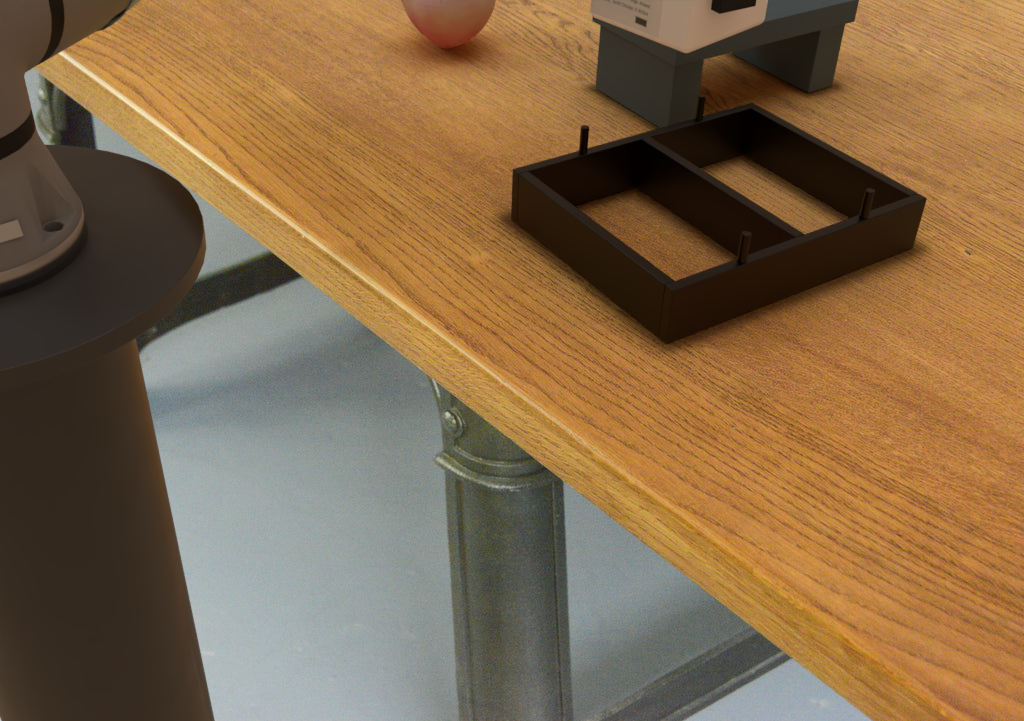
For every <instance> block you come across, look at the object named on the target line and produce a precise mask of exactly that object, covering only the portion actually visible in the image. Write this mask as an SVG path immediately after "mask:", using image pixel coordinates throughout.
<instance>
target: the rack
mask: <svg viewBox="0 0 1024 721" xmlns="http://www.w3.org/2000/svg"><path fill="white" fill-rule="evenodd" d="M706 98H707V96H706V94H705V93H699V94H698V98H697V105H696V112H695V118H694V119H690V120H687V121H683V122H680V123H676V124H672V125H669V126H665V127H662V128H659V127H657V128H655V129H651V130H648V131H643V132H640V133H637V134H633V135H630V136H626V137H622V138H619V139H616V140H615V139H614V140H612V141H608V142H605V143H601V144H598V145H594V146H590V147H589V136H590V126H589V125H588V124H582V125H580V133H579V147H578V150H576V151H573V152H569V153H566V154H562V155H559V156H555V157H551V158H548V159H544V160H540V161H537V162H534V163H533V162H532V163H530V164H526V165H523V166H522V165H521V166H520V167H516V168H513V169H512V177H511V178H512V181H511V205H510V206H511V208H510V219H511V221H513V222H514V223H515V224H517V225H518V226H520V227H521V229H523V230H524V231H525V232H527V233H528V234H529V235H531V236H532V237H533V238H534V239H536V240H537V241H538V242H539V243H541V244H542V245H543V247H545V248H546V249H548V250H549V251H550V252H552V253H553V254H554V255H555V256H557V257H558V258H559V259H560V260H562V261H563V262H564V263H565V264H567V265H568V266H569V267H570V268H571V269H572V270H574V271H575V272H577V273H578V274H579V275H580V276H581V277H582V278H584V279H585V280H586V281H587V282H589V283H590V284H591V285H592V286H594V287H595V288H596V289H598V291H599V292H601V293H602V294H603V295H605V296H606V297H607V298H608V299H610V300H611V301H612V302H613V303H614V304H616V305H617V306H619V307H620V308H621V309H622V310H623V311H625V312H626V313H627V314H628V315H630V316H631V317H632V318H633V319H635V320H636V321H637V322H638V323H639V324H641V325H642V326H643V327H644V328H646V329H647V330H648V331H650V332H651V333H652V334H653V335H655V336H656V337H657V338H658V339H660V340H661V341H662V342H663V343H664V344H666V345H667V344H669V343H672V342H674V341H678V340H680V339H683V338H685V337H688V336H690V335H692V334H695V333H698V332H700V331H703V330H705V329H708V328H711V327H713V326H716V325H718V324H721V323H723V322H726V321H728V320H731V319H734V318H736V317H739V316H742V315H744V314H746V313H749V312H753V311H754V310H757V309H759V308H762V307H764V306H767V305H770V304H772V303H775V302H777V301H780V300H783V299H785V298H788V297H790V296H793V295H795V294H798V293H801V292H803V291H805V290H808V289H811V288H813V287H816V286H818V285H821V284H823V283H826V282H828V281H829V282H830V281H831V280H834V279H836V278H840V277H841V276H844V275H847V274H849V273H851V272H855V271H857V270H859V269H862V268H864V267H868V266H870V265H873V264H875V263H878V262H880V261H883V260H886V259H888V258H890V257H893V256H896V255H897V254H901V253H902V252H906V251H908V250H910V249H911V250H912V249H914V246H915V244H916V243H915V242H916V240H917V236H918V232H919V228H920V224H921V222H922V217H923V214H924V211H925V206H926V203H927V200H928V198H927V197H925V196H924V195H922V194H920V193H918V191H915V190H913V189H911V188H909V187H907V186H906V185H904V184H903V183H900V182H898V181H897V180H895V179H893V178H891V177H889V176H888V175H885V174H884V173H882V172H880V171H878V170H876V169H874V168H873V167H871V166H869V165H867V164H866V163H864V162H862V161H860V160H858V159H856V158H855V157H853V156H851V155H849V154H847V153H845V152H844V151H841V150H840V149H838V148H836V147H834V146H832V145H831V144H830V143H827V142H825V141H823V140H822V139H821V138H819V137H817V136H814V135H812V134H811V133H808V132H807V131H805V130H803V129H801V128H800V127H798V126H796V125H795V124H792V123H790V122H789V121H787V120H785V119H783V118H781V117H779V116H777V115H776V114H774V113H772V112H770V111H769V110H767V109H765V108H763V107H761V106H759V105H757V104H756V103H754V102H748V103H744V104H741V105H738V106H734V107H730V108H726V109H723V110H719V111H716V112H712V113H709V114H704V112H705V106H706V100H707V99H706ZM742 155H743V156H746V157H748V158H749V159H751V160H752V161H754V162H755V163H757V164H759V165H761V166H763V167H764V168H766V169H768V170H769V171H770V172H773V173H774V174H776V175H778V176H779V177H781V178H783V179H785V180H786V181H787V182H789V183H791V184H792V185H795V186H796V187H798V188H799V189H801V190H803V191H804V192H806V193H808V194H810V195H811V196H813V197H815V198H817V199H818V200H820V201H822V202H823V203H825V204H826V205H828V206H830V207H832V208H833V209H835V210H837V211H838V212H840V213H842V214H843V215H845V216H847V217H849V218H847V219H844V220H840V221H838V222H835V223H832V224H830V225H827V226H823V227H821V228H819V229H815V230H813V231H811V232H808V233H804V232H803V231H800V230H799V229H798V228H795V227H794V226H793V225H791V224H789V223H788V222H787V221H785V220H783V219H781V217H778V216H777V215H775V214H773V213H772V212H770V211H769V210H767V209H765V208H764V207H762V206H761V205H759V204H758V203H756V202H754V201H753V200H752V199H750V198H748V197H747V196H745V195H743V194H741V193H740V192H739V191H737V190H736V189H735V188H732V187H730V186H729V185H728V184H726V183H724V182H723V181H721V180H719V179H718V178H716V177H715V176H713V175H712V174H710V173H708V172H707V171H705V170H704V169H702V167H707V166H709V165H713V164H716V163H719V162H722V161H725V160H726V161H727V160H728V159H732V158H736V157H739V156H742ZM634 188H637V189H639V190H640V191H642V192H643V193H645V194H646V195H647V196H649V197H650V198H652V199H653V200H655V201H656V202H658V203H659V204H661V206H663V207H665V208H666V209H668V210H670V211H671V212H672V213H674V214H675V215H676V216H678V217H679V218H681V219H683V220H684V221H686V222H687V223H688V224H690V225H692V226H693V227H695V228H696V229H697V230H698V231H700V232H702V233H703V234H704V235H706V236H707V237H708V238H710V239H711V240H713V241H715V242H716V243H718V244H719V245H721V246H722V247H724V248H725V249H727V250H728V251H729V252H731V253H732V254H733V255H735V256H737V258H735V259H732V260H729V261H727V262H724V263H721V264H719V265H716V266H715V265H714V266H713V267H710V268H708V269H704V270H702V271H699V272H696V273H693V274H691V275H688V276H685V277H683V278H680V279H679V278H678V279H677V280H675V279H673V278H672V277H671V276H670V275H668V274H667V273H665V272H664V271H663V270H661V269H660V268H658V267H657V266H656V265H655V264H653V263H652V262H650V261H649V260H648V259H647V258H645V257H644V256H642V255H641V254H640V253H638V252H637V251H635V249H633V248H631V247H630V246H629V245H628V244H626V242H624V241H623V240H621V239H620V238H618V237H617V236H616V235H614V234H613V233H612V232H610V231H609V230H608V229H606V228H605V227H604V226H602V225H601V224H600V223H598V221H597V222H596V221H595V220H594V219H593V218H591V217H590V216H589V215H587V214H586V213H585V212H583V211H582V210H581V209H579V208H578V207H577V206H579V205H582V204H585V203H588V202H591V201H595V200H598V199H601V198H604V197H608V196H611V195H615V194H618V193H620V192H624V191H627V190H632V189H634Z"/></svg>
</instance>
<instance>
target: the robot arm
mask: <svg viewBox="0 0 1024 721" xmlns="http://www.w3.org/2000/svg"><path fill="white" fill-rule="evenodd" d="M140 1H141V0H0V297H3V296H7V295H10V294H13V293H16V292H19V291H22V290H24V289H27V288H29V287H32V286H34V285H36V284H38V283H40V282H42V281H44V280H46V279H48V278H50V277H51V276H53V275H55V274H56V273H58V272H59V271H61V270H62V269H63V268H65V267H66V266H67V265H69V264H70V263H71V262H72V261H73V260H74V259H75V258H76V257H77V255H78V254H79V253H80V252H81V250H82V249H83V247H84V245H85V243H86V239H87V234H88V230H87V224H86V220H85V215H84V211H83V206H82V203H81V200H80V199H79V197H78V196H77V194H76V192H75V191H74V189H73V188H72V186H71V185H70V183H69V182H68V180H67V178H66V177H65V175H64V174H63V172H62V171H61V169H60V168H59V166H58V164H57V163H56V161H55V160H54V158H53V157H52V155H51V153H50V152H49V150H48V149H47V147H46V146H45V145H46V144H45V142H44V141H43V139H42V138H41V136H40V134H39V132H38V129H37V126H36V120H35V118H34V112H33V109H32V104H31V100H30V96H29V92H28V87H27V82H26V79H25V75H26V73H27V72H29V71H31V70H32V69H33V68H35V67H37V66H38V65H41V64H42V63H44V62H46V61H48V60H49V59H51V58H53V57H55V56H56V55H58V54H60V53H62V52H63V51H65V50H67V49H68V48H70V47H72V46H75V44H77V43H79V42H81V41H82V40H84V39H86V38H87V37H89V36H91V35H93V34H94V33H97V32H100V31H104V30H106V29H108V28H110V27H111V26H113V25H114V24H116V23H117V22H118V21H120V20H121V19H122V18H123V17H124V16H125V15H126V14H127V12H128V11H130V10H131V9H132V8H134V7H135V6H137V5H138V3H139V2H140ZM753 6H756V0H712V6H711V10H713V11H715V12H717V13H719V14H722V13H726V12H731V11H735V10H740V9H744V8H749V7H753Z"/></svg>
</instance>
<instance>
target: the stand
mask: <svg viewBox="0 0 1024 721" xmlns="http://www.w3.org/2000/svg"><path fill="white" fill-rule="evenodd" d="M859 3H860V0H768V3H767V9H766V15H765V19H764V21H763V23H761V24H760V25H757V26H755V27H752V28H750V29H747V30H745V31H742V32H740V33H737V34H735V35H732V36H730V37H727V38H725V39H722V40H720V41H717V42H715V43H712V44H710V45H707V46H705V47H702V48H700V49H697V50H695V51H692V52H690V53H683V52H681V51H678V50H676V49H673V48H670V47H668V46H665V45H663V44H660V43H658V42H655V41H653V40H650V39H648V38H645V37H642V36H640V35H637V34H635V33H632V32H630V31H627V30H625V29H622V28H620V27H617V26H614V25H612V24H609V23H607V22H604V21H602V20H599V19H597V18H594V17H593V16H592V18H591V19H592V22H593V23H595V24H597V25H599V27H600V28H599V40H598V52H597V64H596V75H595V76H596V77H595V90H597V91H599V92H600V93H602V94H604V95H606V96H607V97H609V98H610V99H612V100H614V101H615V102H617V103H618V104H620V105H621V106H623V107H625V108H626V109H628V110H630V111H632V112H633V113H634V114H636V115H638V116H639V117H641V118H643V119H644V120H646V121H648V122H649V123H651V124H652V125H654V126H655V127H657V128H662V127H665V126H669V125H672V124H676V123H680V122H683V121H687V120H690V119H694V118H695V112H696V105H697V98H698V94H700V90H701V83H702V76H703V70H704V62H705V60H708V59H711V58H715V57H719V56H723V55H727V54H731V53H732V55H734V56H736V57H738V58H739V59H741V60H743V61H746V62H748V63H749V64H751V65H753V66H755V67H757V68H759V69H761V70H763V71H765V72H767V73H769V74H770V75H773V76H775V77H776V78H778V79H780V80H782V81H785V82H786V83H788V84H790V85H792V86H794V87H796V88H798V89H800V90H802V91H804V92H805V93H813V92H816V91H820V90H824V89H827V88H831V87H833V84H834V81H835V80H834V79H835V76H836V75H835V74H836V69H837V65H838V60H839V57H840V56H839V55H840V52H841V46H842V42H843V37H844V33H845V27H846V24H847V25H848V24H850V23H854V22H855V21H856V16H857V12H858V7H859Z"/></svg>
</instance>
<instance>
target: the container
mask: <svg viewBox="0 0 1024 721" xmlns="http://www.w3.org/2000/svg"><path fill="white" fill-rule="evenodd" d="M767 3H768V0H756V6H753V7H749V8H744V9H740V10H735V11H731V12H726V13H722V14H719V13H717V12H715V11H713V10H711V6H712V0H590V15H591V16H592V18H593V17H594V18H597V19H599V20H602V21H604V22H607V23H609V24H612V25H614V26H617V27H620V28H622V29H625V30H627V31H630V32H632V33H635V34H637V35H640V36H642V37H645V38H648V39H650V40H653V41H655V42H658V43H660V44H663V45H665V46H668V47H670V48H673V49H676V50H678V51H681V52H683V53H690V52H692V51H695V50H697V49H700V48H702V47H705V46H707V45H710V44H712V43H715V42H717V41H720V40H722V39H725V38H727V37H730V36H732V35H735V34H737V33H740V32H742V31H745V30H747V29H750V28H752V27H755V26H757V25H760V24H761V23H763V21H764V19H765V15H766V9H767Z"/></svg>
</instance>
